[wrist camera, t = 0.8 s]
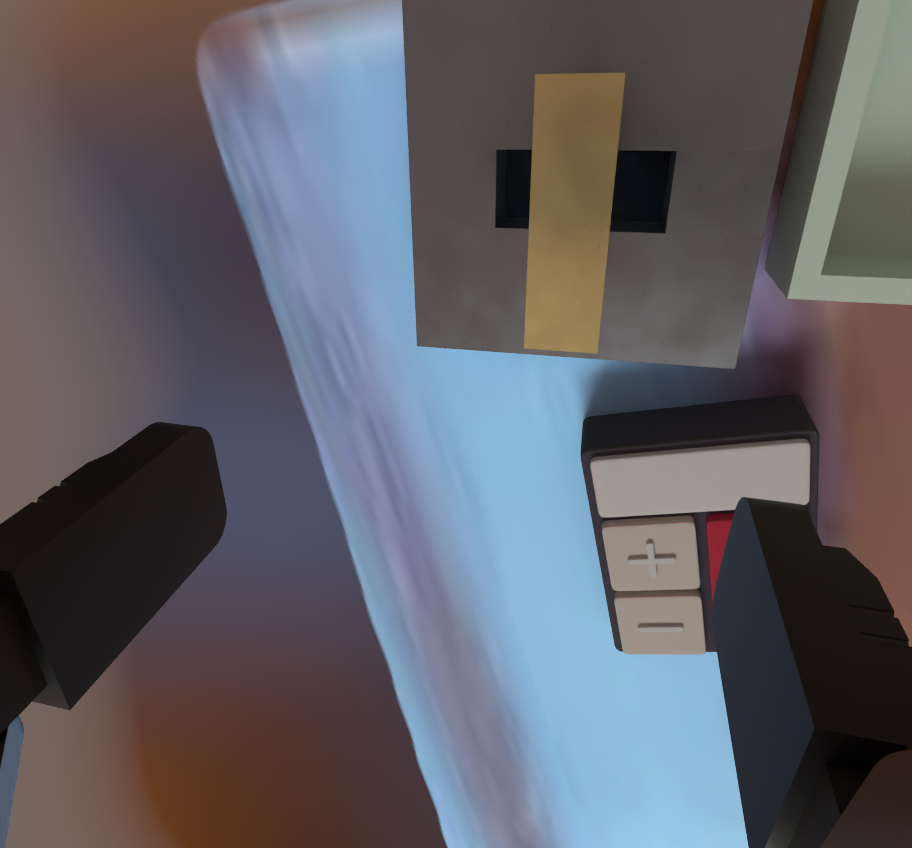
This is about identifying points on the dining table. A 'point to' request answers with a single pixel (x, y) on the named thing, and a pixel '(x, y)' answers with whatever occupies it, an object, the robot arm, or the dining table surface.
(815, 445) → the calculator
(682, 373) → the dining table surface
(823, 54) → the tray
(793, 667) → the robot arm
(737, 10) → the lock block
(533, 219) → the t key
